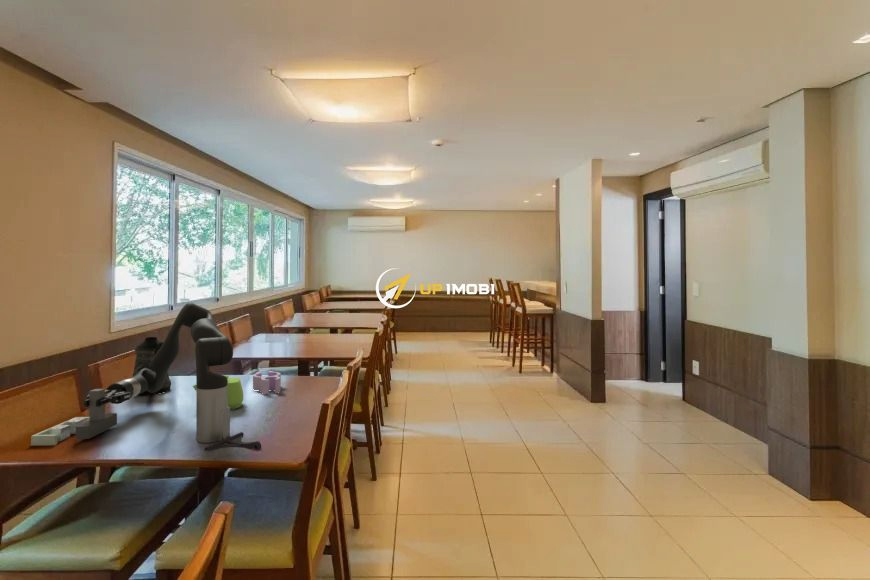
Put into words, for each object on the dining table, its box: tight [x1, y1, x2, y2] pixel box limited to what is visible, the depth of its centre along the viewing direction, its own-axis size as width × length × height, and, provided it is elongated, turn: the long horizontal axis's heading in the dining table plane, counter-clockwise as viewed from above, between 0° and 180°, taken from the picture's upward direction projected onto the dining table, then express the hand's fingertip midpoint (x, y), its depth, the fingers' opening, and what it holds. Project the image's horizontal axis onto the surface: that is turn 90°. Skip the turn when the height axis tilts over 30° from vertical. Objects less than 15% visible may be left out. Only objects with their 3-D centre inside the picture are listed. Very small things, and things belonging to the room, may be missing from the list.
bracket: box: [204, 431, 262, 451], centre depth 142 cm, size 14×15×3 cm
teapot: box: [192, 374, 244, 411], centre depth 182 cm, size 18×20×13 cm
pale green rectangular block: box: [30, 416, 90, 446], centre depth 149 cm, size 7×19×3 cm, turn 4°
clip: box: [252, 370, 282, 395], centre depth 212 cm, size 20×12×7 cm, turn 31°
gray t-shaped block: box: [75, 388, 118, 440], centre depth 149 cm, size 4×14×14 cm, turn 4°
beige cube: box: [63, 417, 85, 435], centre depth 152 cm, size 4×4×4 cm
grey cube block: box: [46, 424, 71, 442], centre depth 145 cm, size 4×4×4 cm
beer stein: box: [132, 336, 172, 397], centre depth 206 cm, size 16×19×25 cm
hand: (91, 403), depth 146 cm, fingers closed on gray t-shaped block, 3 cm apart
